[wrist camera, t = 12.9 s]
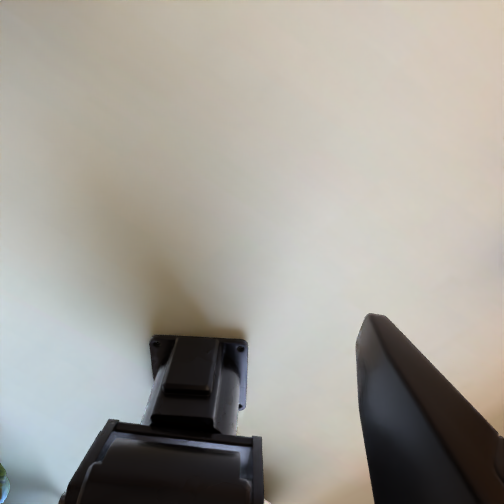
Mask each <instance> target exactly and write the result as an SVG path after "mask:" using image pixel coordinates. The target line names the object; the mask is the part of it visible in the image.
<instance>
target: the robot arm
mask: <svg viewBox="0 0 504 504" xmlns="http://www.w3.org/2000/svg"><path fill="white" fill-rule="evenodd" d="M156 342H159V343H156ZM149 346H150V354H151V362H152V370H153V378H154V385H153V388H152V391H151V394H150V397H149V400H148V403H147V406H146V409H145V412H144V415H143V418H142V421H141V424H133V423H125V422H119V420H114V419H109V420H108V421H107V423H106V425H105V426H104V428H103V430H102V431H100V432H99V434H98V436H97V437H96V439H95V441H94V442H93V444H92V446H91V447H90V449H89V451H88V452H87V454H86V456H85V457H84V459H83V461H82V462H81V464H80V466H79V467H78V469H77V471H76V472H75V474H74V476H73V477H72V479H71V481H70V482H69V484H68V487H67V490H66V491H65V492H64V493H63V494H62V496H61V498H60V500H59V503H58V504H264V481H263V456H262V437H259V436H252V437H245V436H236V430H237V419H238V411H241V410H244V409H245V407H246V389H247V363H248V343H247V342H246V341H245V340H242V339H227V338H209V337H191V336H173V335H154V336H152V337H151V340H150V343H149ZM239 346H241V347H243V348H239ZM356 364H357V384H358V403H359V412H360V419H361V425H362V431H363V437H364V443H365V449H366V455H367V461H368V467H369V473H370V479H371V485H372V491H373V497H374V503H375V504H504V438H503V437H502V436H498V432H497V431H496V430H495V429H494V428H493V427H492V426H491V425H490V424H489V423H488V422H487V421H486V420H485V418H484V417H483V416H482V415H481V414H480V413H479V412H478V411H477V410H476V409H475V408H474V407H473V406H472V405H471V404H470V403H469V402H468V401H467V400H466V399H465V398H464V397H463V396H462V395H461V394H460V392H459V391H458V390H457V389H456V388H455V387H454V386H453V385H452V384H451V383H450V382H449V381H448V380H447V379H446V378H445V377H444V376H443V375H442V374H441V373H440V372H439V371H438V370H437V369H436V368H435V366H434V365H433V364H432V363H431V362H430V361H429V360H428V359H427V358H426V357H425V356H424V355H423V354H422V353H421V352H420V351H419V350H418V349H417V348H416V347H415V346H414V345H413V344H412V343H411V342H410V340H409V339H408V338H407V337H406V336H405V335H404V334H403V333H402V332H401V331H400V330H399V329H398V328H397V327H396V326H395V325H394V324H393V323H392V322H391V321H390V320H389V319H388V318H387V317H386V316H384V315H379V314H372V313H369V314H367V315H366V317H365V319H364V321H363V324H362V326H361V329H360V332H359V334H358V337H357V341H356Z"/></svg>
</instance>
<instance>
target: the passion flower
mask: <svg viewBox="0 0 504 504" xmlns="http://www.w3.org/2000/svg"><path fill="white" fill-rule="evenodd" d="M9 490H10V483H9V480H8V478H7V477H6V471H5V469H4V468H3V467H2V465H1V463H0V504H1V503H2V502H3V501H4V500H5V499H6V498H7V495H8V493H9Z"/></svg>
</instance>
